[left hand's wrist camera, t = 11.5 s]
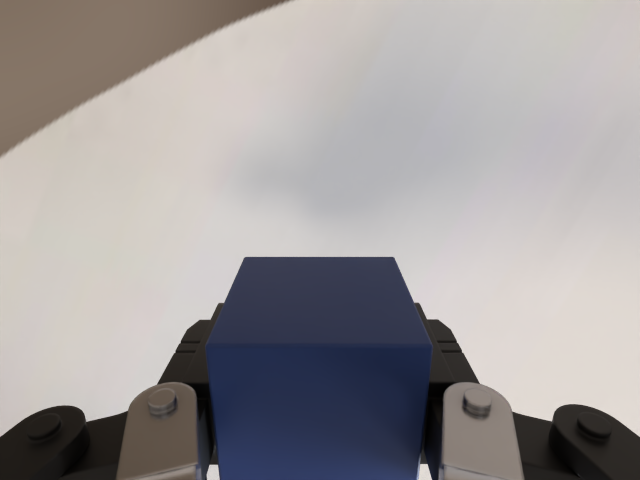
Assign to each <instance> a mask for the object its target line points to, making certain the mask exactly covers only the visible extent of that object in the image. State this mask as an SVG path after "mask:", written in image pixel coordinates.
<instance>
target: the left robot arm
mask: <svg viewBox="0 0 640 480" xmlns="http://www.w3.org/2000/svg"><path fill="white" fill-rule="evenodd" d="M414 304H415V306H416V308H417V311H418V313H419V315H420V318H421V320H422V322H423V324H424V327H425V329H426V331H427V333H428V336H429V338H430V340H431V342H432V345H433V352H432V361H431V370H430V379H429V388H428V397H427V406H426V415H425V424H424V433H423V442H422V451H421V460H420V464H428V467H429V470H430V474H431V477H432V480H640V437H639V436H638V435H636V434H635V433H634V432H632V431H631V430H630V429H628V428H627V427H626V426H624V425H623V424H622V423H621V422H619V421H618V420H616V419H615V418H614V417H612V416H610V415H608V414H607V413H604V412H602V411H600V410H597V409H595V408H592V407H588V406H584V405H577V404H569V405H564V406H561V407H559V408H558V409H557V410H556V411H555V413H554V416H553V420H552V422H551V421H547V420H542V419H538V418H534V417H529V416H525V415H521V414H518V413H515V412H512V409H511V406H510V404H509V403H508V401H507V400H506V399H505V398H504V397H503V396H502V395H501V394H500V393H498V392H497V391H495V390H493V389H492V388H489V387H487V386H485V385H482V384H480V383H479V381H478V379H477V378H476V376H475V374H474V372H473V370H472V368H471V366H470V365H469V363H468V361H467V359H466V357H465V355H464V354H463V353H462V350H461V348H460V346H459V344H458V343H457V341H456V339H455V337H454V335H453V333H452V331H451V329H449V328H448V327H447V326H445V325H444V324H443V323H442V322H440V321H439V320H427V319H426V316H425V314H424V312H423V310H422V308H421V306H420V304H419V303H414ZM223 305H224V303H219V304H218V305H217V307H216V310H215V312H214V314H213V316H212V318H211V320H199V321H198V322H196V323H195V324H194V325H193V326H191V327H190V328H189V329H187V331H186V333H185V335H184V336H183V338H182V340H181V344H179V345H178V347H177V349H176V353H174V355H173V356H172V358H171V360H170V362H169V364H168V366H167V367H166V369H165V371H164V373H163V375H162V376H161V378H160V380H159V382H158V384H157V385H155V386H153V387H151V388H148V389H147V390H145V391H143V392H142V393H140V394H139V395H138V396H137V397H136V398H135V399H134V400H133V401H132V403H131V404H130V406H129V409H128V411H126V412H124V413H121V414H118V415H114V416H110V417H106V418H101V419H97V420H93V421H88V422H86V419H85V415H84V413H83V411H82V410H80V409H79V408H77V407H74V406H56V407H51V408H47V409H44V410H42V411H39V412H37V413H35V414H32V415H30V416H29V417H27V418H25V419H24V420H22V421H21V422H19V423H18V424H17V425H16V426H14V427H13V428H12V429H10V430H9V431H8V432H6V433H5V434H4V435H2V436H1V437H0V480H207V471H208V468H209V465H218V459H217V450H216V441H215V432H214V423H213V414H212V405H211V396H210V387H209V378H208V369H207V360H206V351H205V345H206V343H207V340H208V338H209V336H210V334H211V331H212V329H213V327H214V325H215V323H216V320H217V318H218V316H219V314H220V311H221V309H222V307H223Z"/></svg>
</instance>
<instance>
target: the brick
mask: <svg viewBox="0 0 640 480" xmlns="http://www.w3.org/2000/svg"><path fill="white" fill-rule="evenodd" d="M205 351H206V360H207V369H208V378H209V387H210V396H211V405H212V414H213V423H214V432H215V441H216V450H217V459H218V468H219V477H220V480H418V478H419V469H420V460H421V451H422V442H423V433H424V424H425V415H426V406H427V397H428V388H429V379H430V370H431V361H432V352H433V345H432V342H431V340H430V338H429V336H428V333H427V331H426V329H425V327H424V324H423V322H422V320H421V318H420V315H419V313H418V311H417V308H416V306H415V304H414V302H413V299H412V297H411V295H410V293H409V290H408V288H407V286H406V283H405V281H404V279H403V277H402V274H401V272H400V270H399V268H398V265H397V263H396V261H395V258H394V257H245V258H244V260H243V262H242V264H241V266H240V269H239V271H238V273H237V275H236V278H235V280H234V282H233V284H232V287H231V289H230V291H229V293H228V296H227V298H226V300H225V302H224V305H223V307H222V309H221V311H220V314H219V316H218V318H217V320H216V323H215V325H214V327H213V329H212V331H211V334H210V336H209V338H208V340H207V343H206V345H205Z"/></svg>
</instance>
